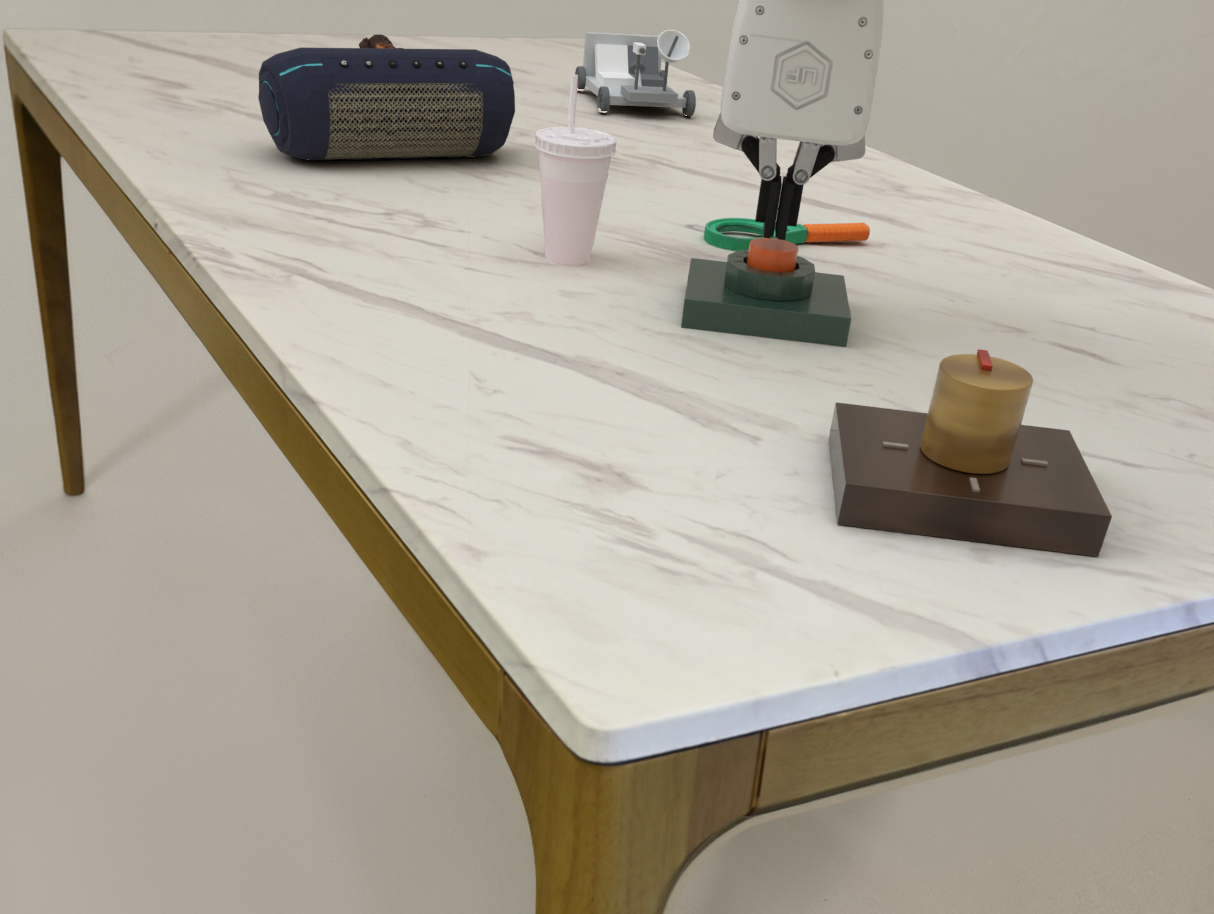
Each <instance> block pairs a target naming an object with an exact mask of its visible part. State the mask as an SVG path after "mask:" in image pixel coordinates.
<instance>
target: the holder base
mask: <svg viewBox="0 0 1214 914" xmlns="http://www.w3.org/2000/svg"><path fill="white" fill-rule="evenodd" d="M927 415H928V412H919V411H913V410H912V411H911V410H905V409H903V410H902V409H895V408H887V407H877V406H869V405H861V404H852V403H844V402H835V404H834V409H833V415H832V418H831V419H832V420H831V425H830V429H829V435H828V447H829V448H828V449H829V458H830V468H831V476H832V477H831V478H832V487H833V496H834V497H833V498H834V505H835V517H836V524H837V525H839V526H847V527H854V528H863V529H871V530H880V531H887V532H894V533H895V532H897V533H903V534H904V533H905V534H911V535H919V536H927V537H935V538H943V539H951V540H952V539H953V540H960V541H967V542H976V543H984V544H991V545H1001V546H1008V547H1014V548H1015V547H1016V548H1024V549H1032V550H1038V551H1039V550H1040V551H1046V552H1047V551H1048V552H1055V553H1064V554H1072V555H1079V556H1080V555H1081V556H1089V557H1097V558H1098V557H1099V556H1100V553H1101V550H1102V547H1103V544H1104V542H1105V539H1106V535H1107V532H1108V529H1109V527H1110V524H1111V521H1112V518H1113V515H1112V513H1111V511H1110V509H1109V507H1108V505H1107V503H1106V501H1105V499H1104V498H1103V495H1102V493H1101V491H1100V489H1099V487H1098V485H1097V483H1096V481H1095V479H1094V476H1093V475H1092V473H1091V471H1090V468H1089V467H1088V465H1087V463H1086V460H1085V458H1084V456H1083V455H1082V453H1081V451H1080V448H1079V447H1078V445H1077V442H1076V441H1075V439H1074V436H1073V435H1072V433H1071V431H1070V430H1069V429H1061V428H1053V427H1044V426H1037V425H1027V424H1021V427H1020V430H1019V434H1018V437H1017V441H1016V444H1015V448H1014V451H1013V455H1012V458H1011V462H1010V465H1009V466H1008V467H1007V468H1006V469H1005V470H1003V471H1000V472H997V473H991V474H974V473H966V472H961V471H957V470H953V469H950V468H947V467H944V466H942V465H939V464H937V463H935V462H934V461H932V460H930V459H929V458H928V457H927V456H925V455H924V453H923V452H922V450H921V447H920V444H921V440H922V436H923V432H924V428H925V423H926V419H927Z"/></svg>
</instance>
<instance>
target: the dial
mask: <svg viewBox="0 0 1214 914" xmlns="http://www.w3.org/2000/svg"><path fill="white" fill-rule="evenodd" d="M1033 384H1034V378H1033V375H1032V374H1031V373H1030V372H1029V371H1028V370H1027V369H1026V368H1024V367H1022V366H1020V365H1018V364H1016V363H1013V362H1011V361H1009V360H1006V359H1003V358H999V357H994V356H990V353H989V351H988V350H986V349H977V351H976V353H960V354H952V355H948V356H946V357H944V358H942V359H941V360H940V362H939V365H938V368H937V374H936V378H935V383H934V385H933V391H932V395H931V399H930V403H929V407H928V411H927V413H928V415H927V419H926V423H925V428H924V432H923V436H922V440H921V444H920V447H921V450H922V452H923V453H924V455H925V456H927V457H928V458H929V459H930V460H932V461H934V462H935V463H937V464H939V465H942V466H944V467H947V468H950V469H953V470H957V471H961V472H966V473H974V474H991V473H997V472H1000V471H1003V470H1005V469H1006V468H1007V467H1008V466H1009V465H1010V462H1011V458H1012V455H1013V451H1014V448H1015V444H1016V441H1017V437H1018V434H1019V430H1020V427H1021V425H1022V422H1023V420H1024V415H1025V412H1026V408H1027V405H1028V402H1029V399H1030V396H1031V395H1030V394H1031V391H1032V388H1033Z"/></svg>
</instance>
